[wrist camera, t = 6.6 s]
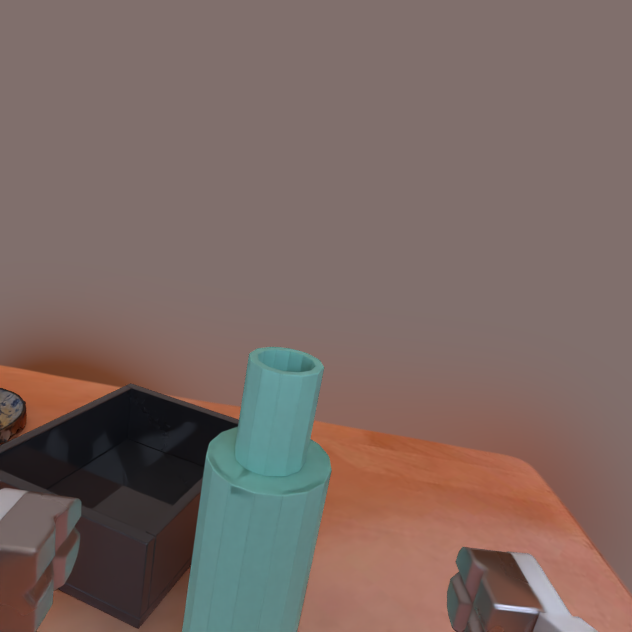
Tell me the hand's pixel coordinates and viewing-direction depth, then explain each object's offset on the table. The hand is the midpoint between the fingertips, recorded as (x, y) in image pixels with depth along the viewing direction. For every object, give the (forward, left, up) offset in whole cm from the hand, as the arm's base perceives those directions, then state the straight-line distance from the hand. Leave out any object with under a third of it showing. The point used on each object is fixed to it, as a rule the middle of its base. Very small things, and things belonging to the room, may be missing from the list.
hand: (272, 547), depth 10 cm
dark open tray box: (+20, +18, -20) cm, 34 cm away
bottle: (+11, +4, -20) cm, 24 cm away
